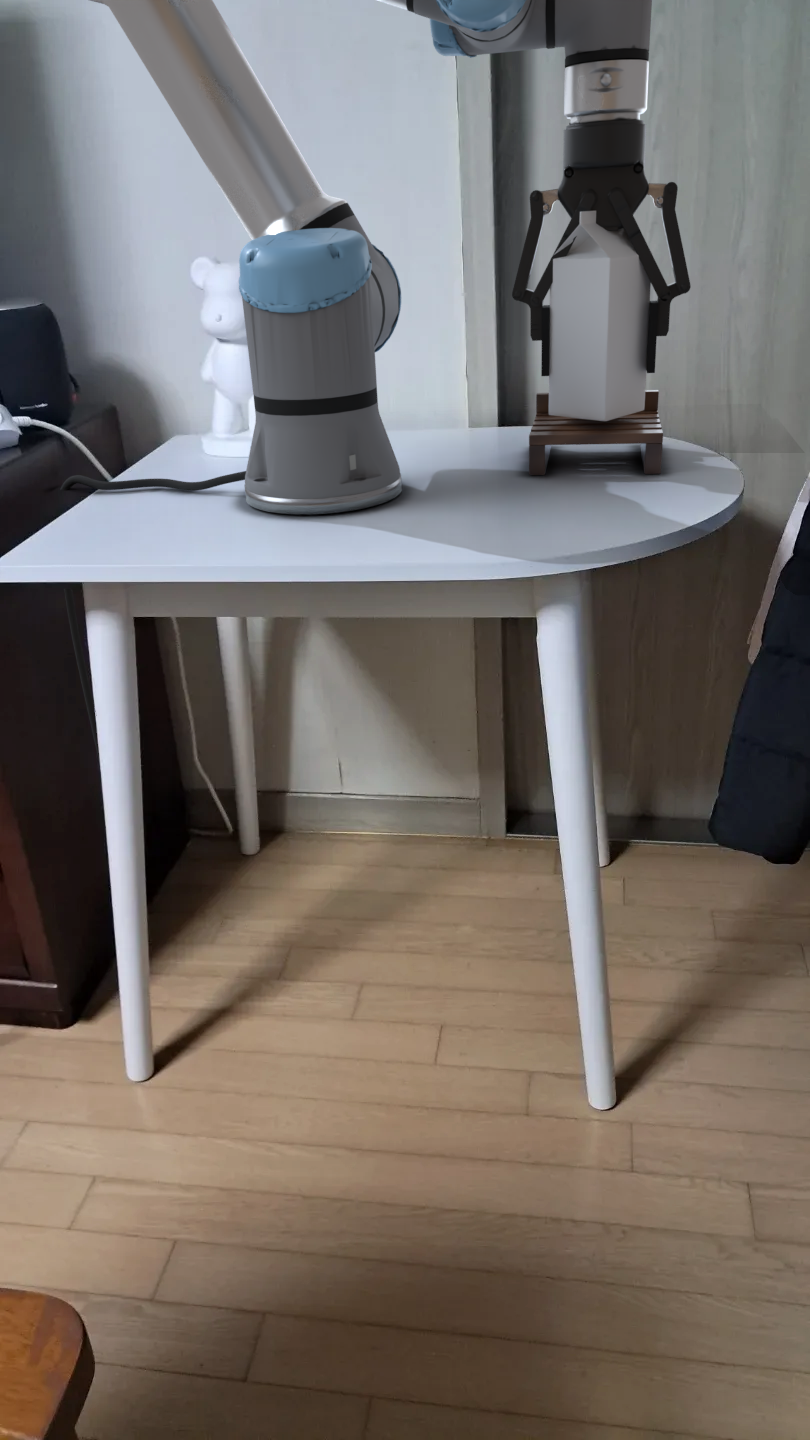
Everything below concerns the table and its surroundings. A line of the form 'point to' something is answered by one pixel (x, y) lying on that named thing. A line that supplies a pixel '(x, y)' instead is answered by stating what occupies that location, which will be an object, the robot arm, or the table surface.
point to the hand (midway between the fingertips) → (597, 372)
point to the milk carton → (598, 325)
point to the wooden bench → (596, 433)
